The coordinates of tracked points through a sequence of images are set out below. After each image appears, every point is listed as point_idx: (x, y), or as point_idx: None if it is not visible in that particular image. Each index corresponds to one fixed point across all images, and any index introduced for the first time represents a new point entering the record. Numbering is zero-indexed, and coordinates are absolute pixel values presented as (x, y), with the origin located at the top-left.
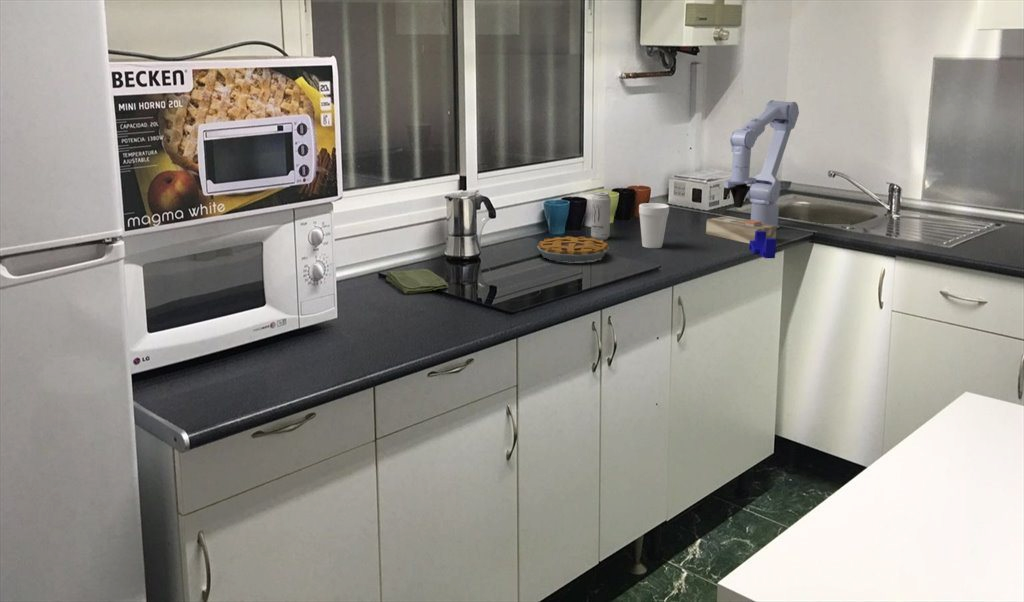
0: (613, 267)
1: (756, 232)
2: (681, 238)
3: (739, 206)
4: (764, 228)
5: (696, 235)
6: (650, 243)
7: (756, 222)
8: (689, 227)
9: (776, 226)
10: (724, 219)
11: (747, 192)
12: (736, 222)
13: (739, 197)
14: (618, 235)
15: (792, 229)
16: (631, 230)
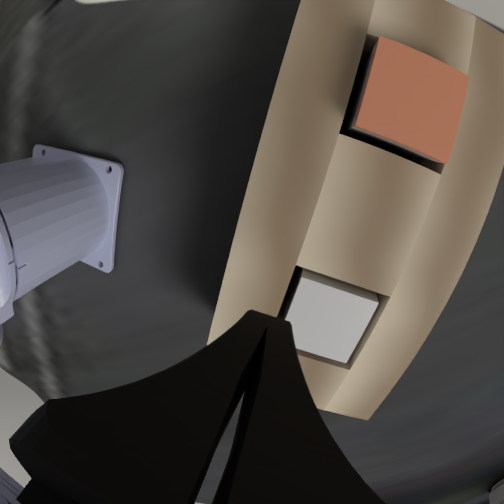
0: None
1: None
2: (482, 392)
3: (291, 330)
4: (454, 5)
5: (412, 381)
6: None
7: (442, 63)
8: None
9: None
10: (327, 353)
11: (129, 389)
12: (384, 252)
13: (311, 414)
14: (470, 485)
15: (34, 94)
16: (403, 497)
